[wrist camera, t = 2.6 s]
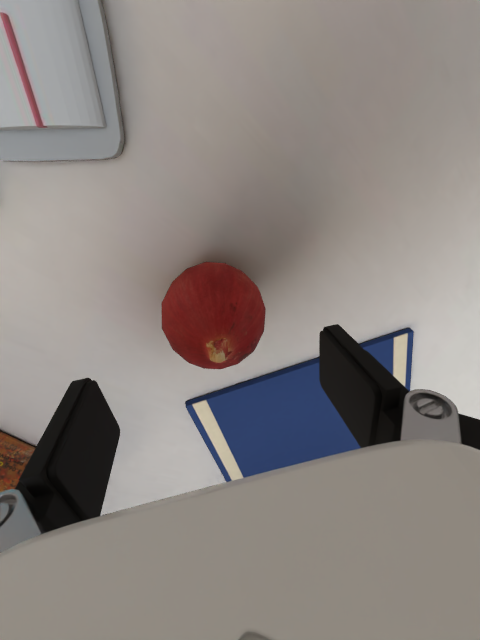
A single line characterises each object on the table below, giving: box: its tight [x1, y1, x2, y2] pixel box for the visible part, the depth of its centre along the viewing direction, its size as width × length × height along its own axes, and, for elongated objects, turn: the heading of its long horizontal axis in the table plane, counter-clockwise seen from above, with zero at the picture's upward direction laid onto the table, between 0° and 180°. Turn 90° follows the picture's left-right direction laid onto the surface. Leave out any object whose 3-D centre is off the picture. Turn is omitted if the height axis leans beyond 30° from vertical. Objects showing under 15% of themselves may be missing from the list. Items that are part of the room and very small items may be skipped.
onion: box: [162, 262, 265, 369], centre depth 15 cm, size 6×6×8 cm
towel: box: [186, 328, 414, 482], centre depth 27 cm, size 20×14×1 cm
